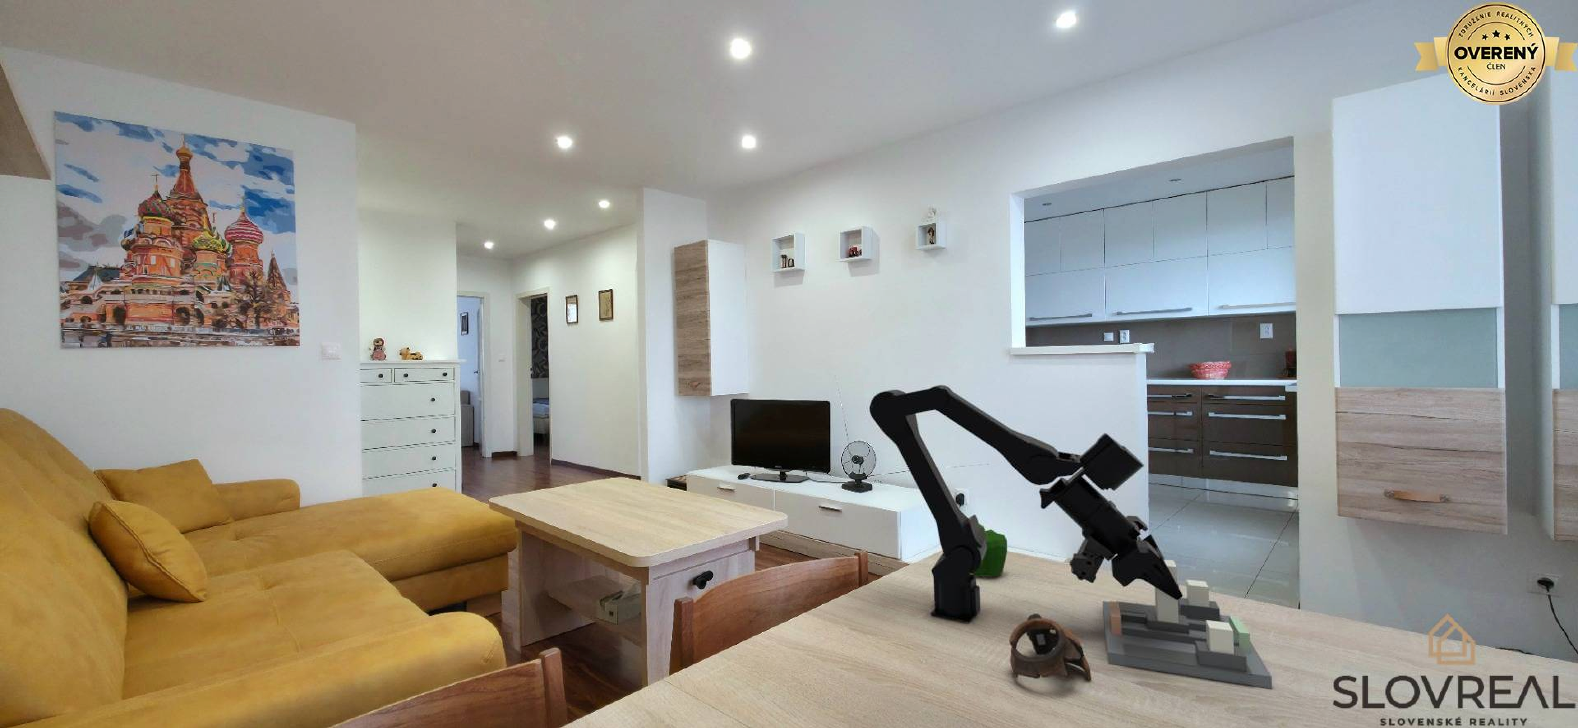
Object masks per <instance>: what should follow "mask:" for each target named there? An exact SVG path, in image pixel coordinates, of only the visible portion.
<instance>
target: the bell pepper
mask: <svg viewBox="0 0 1578 728" xmlns="http://www.w3.org/2000/svg"><path fill="white" fill-rule="evenodd" d="M979 525H980V527H981V529H982V530H983V532H984V533H985V534H987V538H986V540H985V541H986V544H987V550H986V553H985V556H984V558H983V560H982V563H981V565H980V567H979V568H978V569H977V570H976V571H975V572H973V573H970V574H971V575H975V576H976V577H985V576H987V577H993V578H996V577H999V576H1001V574H1002V573H1003V571H1004V569H1005V565H1006V560H1007V554H1008V539H1007V538H1006V536H1005V534H1002V533H998V532H996V531H995V530H993V529H988V530H986V528H985V527H984V525H982V524H981V523H979Z"/></svg>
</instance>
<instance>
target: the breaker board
mask: <svg viewBox="0 0 1578 728" xmlns="http://www.w3.org/2000/svg"><path fill="white" fill-rule="evenodd" d="M1185 584H1186V597H1181V598H1180V599H1179V600H1178V615H1183V616H1186V619H1187V621H1188V624H1189V633H1190V634H1185V633H1177V632H1170V631H1162V630H1155V629H1147V626H1146V611H1150V612H1156V609H1155V605H1151V604H1145V603H1134V602H1128V601H1127V602H1126V601H1118V600H1116V601H1112V600H1109V601H1106V600H1103V601H1102V614H1103V624H1104V634H1105V643H1106V652H1107V662H1108V664H1112V665H1117V666H1123V667H1131V668H1137V669H1142V670H1143V669H1144V670H1150V671H1156V672H1163V673H1170V674H1175V675H1181V676H1182V675H1183V676H1188V677H1195V678H1201V679H1208V680H1214V681H1220V682H1227V683H1234V684H1240V685H1246V686H1252V687H1258V688H1265V689H1270V688H1272V689H1273V680H1272V678H1273V677H1272V675H1271V673H1270V671H1269V670H1268V668H1267V667H1266V665H1265V663H1264V661H1263V660H1262V658H1261V656H1260V655H1259V653H1258V652H1257V650H1256V648H1255V646H1254V645H1253V643H1252V641H1251V636H1250V635H1251V634H1250V632H1249V630H1248V628H1247V627H1246V625H1245V624H1244V622H1243V620H1242V619H1241V617H1240V616H1239V615H1231V614H1228V615H1224V614H1223V615H1222V614H1221V612H1220V611H1221V610H1220V606H1219V605H1218V603H1217V601H1215V600H1210V591H1209V590H1210V588H1209V586H1208V583H1207V582H1206V581H1203V580H1196V579H1195V580H1192V579H1186V583H1185Z"/></svg>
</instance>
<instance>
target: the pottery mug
mask: <svg viewBox="0 0 1578 728" xmlns="http://www.w3.org/2000/svg"><path fill="white" fill-rule="evenodd" d="M1052 631H1055V632H1052ZM1025 634H1026V636H1027V637H1028V640H1029V641H1030V642H1031V646H1032V647H1033V650H1034V651H1035V654H1036V655H1037V656H1034V657H1033V656H1027V655H1025V654H1023V653H1021V652H1020V651H1019V650H1018V649H1017V647H1018V642H1019V641H1020V640H1021V638H1023V636H1025ZM1008 642H1009V645H1010V646H1011V648H1010V659H1009V660H1010V661H1009V662H1010V666H1011V670H1012V672H1013V675H1014V676H1015V677H1016V678H1017V677H1018V676H1022V677H1027V678H1033V679H1035V680H1036V679H1040V677H1042V678H1048V677H1051V676H1054V675H1062V676H1066V677H1067V676H1069V675H1068V673H1067V669H1066V666H1065V664H1071V665H1073V666H1076V667H1079V668H1081V669H1082V670H1083V671H1084V673H1085V675H1086V677H1087V680H1088V681H1089V680H1091V679H1092V675H1091V666H1090V665H1089V662H1088V660H1087V658H1086V656H1085V654H1084V650H1083V646H1082V644H1081V642H1080V640H1078V638H1077V637H1076V636H1075V635H1074V634H1073V633H1071V631H1069V630H1067V629H1066V628H1064V627H1062V626H1061V625H1060V624H1059V623H1057V622H1056V621H1053V620H1052V619H1049V618H1046V617H1042V616H1041V615H1040V614H1039V613H1033V614H1030V615H1029V616H1028V618H1027V619H1026V620H1025V621H1024V622H1022V623H1020V624H1019V625H1017V627H1016V628H1015V629H1013V631H1012V633H1011V635H1010V637H1009V641H1008ZM1091 681H1092V680H1091Z"/></svg>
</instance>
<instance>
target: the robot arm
mask: <svg viewBox="0 0 1578 728" xmlns="http://www.w3.org/2000/svg"><path fill="white" fill-rule="evenodd" d="M929 411H936V412H939V413H940V414H941V415H944V417H946V418H948V419H949V420H951V421H952V422H953V423H955V424H956V425H958V426H959V427H961V428H962V429H964V430H966V431H967V432H969V433H970V434H972V435H973V436H975V437H976V438H978V439H979V440H981V441H982V442H983V443H986V445H988V446H990V447H992V448H993V449H995V450H996V451H997V452H998V453H999V454H1001V456H1002V457H1003V458H1004V459H1005V460H1006V461H1007V462H1008V463H1009V465H1010V466H1011V467H1013V468H1014V470H1016V472H1018V473H1019V474H1020V475H1021V476H1022V477H1023V478H1024V479H1025V480H1026V481H1028V482H1029V483H1031V484H1033V485H1035V486H1036V485H1037V486H1045V485H1049V484H1051V483H1053V482H1054V481H1056V479H1058V478H1059V479H1058V480H1057V481H1056V482H1054V484H1052V485H1051V486H1050V487H1049V488H1043V487H1040V488H1039V492H1038V493H1039V496H1040V508H1041V509H1042V510H1045V509H1046V508H1048V507H1049V506H1050V505H1051V504H1053V502H1054V503H1055V504H1056V505H1057V507H1059V509H1061V510H1062V511H1063V512H1064V513H1065V514H1066V515H1067V516H1068V517H1069V518H1070V519H1071V520H1072V521H1073V522H1074V523H1076V525H1078V527H1080V528H1081V535H1082V537H1084V539H1083V540H1082V542H1081V544H1080V546H1079V548H1078V551H1077V552H1076V553H1075V552H1074V553H1073V555H1072V559H1070V560H1069V566H1070V568H1071V569H1070V572H1071V574H1073V575H1075V576H1076V577H1077V580H1078V581H1083V580H1085V581H1087V582H1088V583H1091V584H1094V582H1095V581H1096V579H1097V574H1098V571H1099V570H1100V568H1101V566H1102V564H1103V562H1104V560H1106V561H1107V562H1110V564H1111V567H1110V568H1111V574H1112V577H1113V578H1114V579H1115V580H1116V581H1117V582H1118V583H1119V585H1120V586H1122V587H1123V588H1126V587H1128V586H1129V585H1130V584H1132V583H1133V582H1134V581H1135V580H1142V581H1144V582H1146V583H1148V584H1150V585H1151V586H1153V587H1154V588H1155V587H1156V588H1158V589H1159V590H1161V591H1162V592H1164V593H1166V594H1167V595H1169V596H1171V597H1172V598H1174V599H1175V600H1179V599H1180V598H1184V597H1183V596H1184V595H1183V593H1182V591H1181V589H1180V586H1179V583H1178V582H1177V583H1176V582H1175V580H1174V578H1173V576H1172V574H1171V572H1170V571H1169V569H1168V567H1167V565H1166V563H1165V561H1164V560H1166V559H1165V558H1164V555H1163V553H1162V552H1161V550H1160V547H1159V545H1158V544H1157V542H1156V540H1155V538H1154V536H1153V535H1152V534H1148V535H1147V536H1146V537H1144V538H1143V539H1142V538H1141V537H1140V536H1141V535H1142V534H1141V530H1142V531H1144V532H1147V531H1148V530H1149V527H1148V525H1147V524H1146V523H1145V521H1143V520H1142V519H1141V518H1140V517H1139V516H1137V515H1127V516H1126V515H1124V513H1122V512H1121V511H1120V510H1119V509H1118V508H1117V507H1116V504H1115V503H1114V502H1113V501H1112V500H1111V499H1110V500H1108V499H1107V498H1106V497H1105V496H1104V495H1102V493H1101V492H1099V490H1097V489H1096V488H1095V487H1094V486H1093V485H1092V484H1091V483H1090V482H1088V480H1087V479H1085V477H1087V478H1088V479H1089V480H1090V481H1091V482H1092V483H1093V484H1094V485H1095V486H1096V487H1097V488H1098V489H1100V490H1101V491H1104V490H1106V491H1108V490H1109V489H1110V490H1112V491H1114V492H1115V491H1116V490H1117V489H1118V488H1120V487H1121V486H1122V485H1123V484H1124V483H1126V482H1127V481H1128V480H1129V479H1131V477H1133V476H1134V475H1136V473H1138V471H1140V470H1141V469H1142V468H1143V467H1145V464H1143V462H1142V461H1141V460H1140V459H1139V458H1138V457H1137V456H1136V455H1135V454H1133V452H1132V451H1130V450H1129V449H1128V448H1127V447H1126V446H1125V445H1122V444H1120V443H1119V442H1118V441H1117V440H1116V439H1114V438H1113V437H1112V436H1110V434H1108V433H1106V432H1104V433H1103V434H1102V435H1100V436H1099V437H1098V439H1097V440H1096V442H1095V443H1094V444H1092V445H1091V446H1090V447H1089V448H1088V449H1087V450H1086V451H1085V452H1083V454H1076V453H1069V452H1063V451H1058V450H1057V449H1056V447H1054V446H1053V445H1051V444H1049V443H1046V442H1044V441H1042V440H1041V439H1040V440H1039V438H1038V439H1037V438H1035V437H1033V436H1031V435H1028V434H1024V433H1021V432H1018V431H1017V430H1014V429H1012V428H1011V427H1009V426H1008V425H1005V424H1004V423H1002V422H1001V421H999V420H998V419H997V418H994V417H993V416H992V415H990V414H989V413H987V412H986V411H984V410H983V409H980V408H979V407H978V406H976V405H974V404H973V403H971V402H969V401H968V400H966V399H965V398H964V397H962V396H960V395H959V394H957V393H956V392H955V391H953V390H952V389H951V388H950V387H949V386H948V385H947V386H946V385H943V384H939V385H934V386H931V387H930V388H925V389H922V390H916V391H911V392H905V391H903V390H899V389H890V390H884V391H881V392H878V393H876V394H875V395H874V396H873V398H872V399H871V402H870V404H869V413H870V416H871V418H872V420H873V421H874V422H875V423H876V425H877V426H878V427H879V430H881V431H882V432H883V434H884V435H885V436H887V437H888V439H890V441H892V443H893V444H895V446H896V447H897V449H898V451H899V453H900V455H901V457H902V458H903V462H905V465H906V467H907V469H908V470H909V472H910V475H911V476H912V478H913V481H914V482H915V484H916V486H917V487H918V490H919V491H920V493H921V496H922V497H923V499H924V501H925V504H926V505H927V507H928V509H929V510H930V513H931V515H932V517H933V518H934V521H935V524H936V528H937V533H938V540H939V544H940V547H941V550H942V552H943V553H942V554H941V555H940V556H939V558H938V559H937V561H936V562H935V564H934V565H933V567H932V568H931V572H930V573H931V574H932V577H933V599H934V607H933V609H932V610H931V612H930V616H932V617H935V618H941V619H944V620H945V619H946V620H950V621H955V622H960V623H966V624H970V623H971V622H972V621H973V620H974V618H975V617H976V616H977V615H978V614H979V613H980V612H981V589H980V588H981V587H980V586H979V585H977V576H975V575H972V574H971V573H973V572H975V571H976V570H977V569H978V568H979V567H980V565H981V563H982V560H983V558H984V556H985V553H986V550H987V544H986V541H985V540H986V538H987V534H985V533H984V532H983V530H982V529H981V527H980V525H979V524H980V522H979V519H978V517H977V515H976V514H973V515H971V516H969V517H967V515H966V514H965V513H964V512H962V511H961V509H960V508H959V506H958V504H957V502H956V501H955V498H954V497H953V495H952V493H951V491H950V489H949V487H948V486H947V483H946V482H945V480H944V478H943V476H942V474H941V472H940V470H939V468H938V466H937V465H936V463H935V461H934V459H933V457H932V455H931V454H930V451H929V450H928V448H927V447H928V446H926V443H925V441H924V440H923V438H922V436H921V435H920V430H919V424H918V419H917V414H921V413H925V412H929ZM1084 475H1085V477H1084ZM1068 476H1071V477H1070V478H1069V479H1066V478H1064V477H1068Z"/></svg>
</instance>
